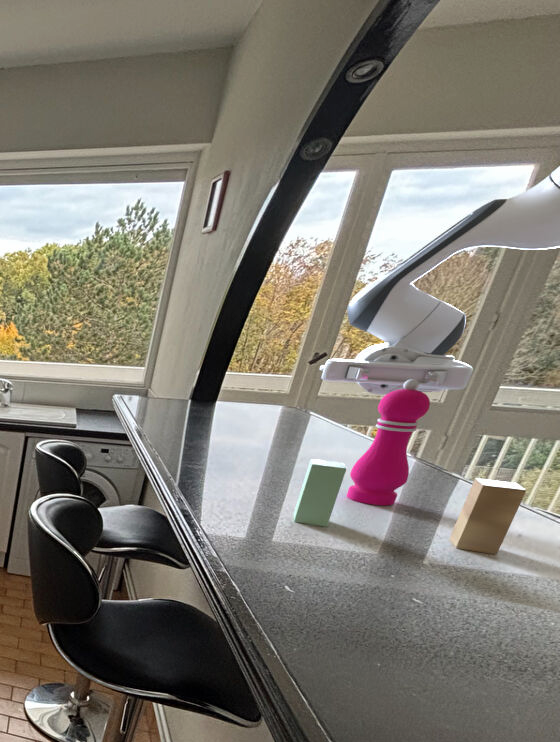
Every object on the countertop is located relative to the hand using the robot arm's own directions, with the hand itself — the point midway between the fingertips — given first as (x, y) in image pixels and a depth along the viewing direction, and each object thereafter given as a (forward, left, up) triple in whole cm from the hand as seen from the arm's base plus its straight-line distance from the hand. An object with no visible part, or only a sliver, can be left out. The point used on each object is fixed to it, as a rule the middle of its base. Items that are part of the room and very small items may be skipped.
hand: (398, 376), depth 102 cm
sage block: (+16, +28, -19) cm, 38 cm away
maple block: (-1, +32, -19) cm, 38 cm away
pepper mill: (+3, +12, -19) cm, 23 cm away
